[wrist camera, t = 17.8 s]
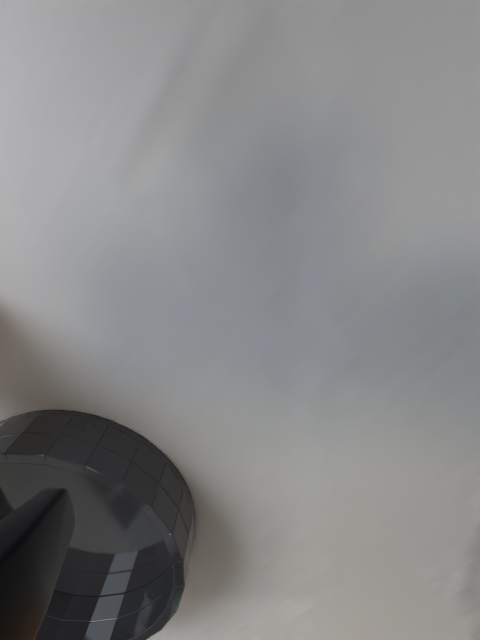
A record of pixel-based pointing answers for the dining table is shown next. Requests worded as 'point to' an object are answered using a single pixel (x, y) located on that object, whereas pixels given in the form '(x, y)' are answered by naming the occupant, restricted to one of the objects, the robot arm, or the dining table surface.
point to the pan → (103, 522)
